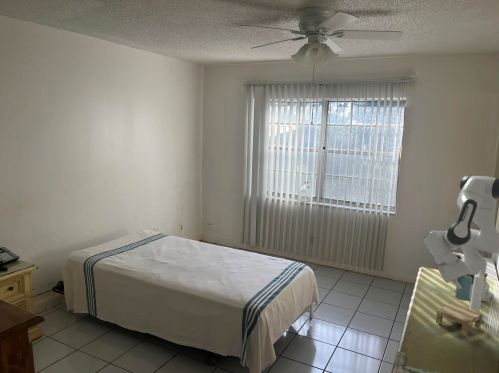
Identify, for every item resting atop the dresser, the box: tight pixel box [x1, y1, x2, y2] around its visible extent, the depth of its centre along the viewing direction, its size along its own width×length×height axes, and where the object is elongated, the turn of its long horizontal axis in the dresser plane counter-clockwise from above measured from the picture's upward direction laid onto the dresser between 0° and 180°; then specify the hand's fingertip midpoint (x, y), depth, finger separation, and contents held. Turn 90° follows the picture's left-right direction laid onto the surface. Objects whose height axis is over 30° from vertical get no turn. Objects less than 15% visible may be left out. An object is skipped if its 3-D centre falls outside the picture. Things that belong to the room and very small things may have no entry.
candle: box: [469, 270, 485, 313], centre depth 195 cm, size 7×7×25 cm
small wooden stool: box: [435, 302, 483, 337], centre depth 186 cm, size 16×14×7 cm
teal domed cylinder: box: [454, 276, 472, 302], centre depth 183 cm, size 6×6×10 cm
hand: (465, 286), depth 183 cm, fingers closed on teal domed cylinder, 6 cm apart
